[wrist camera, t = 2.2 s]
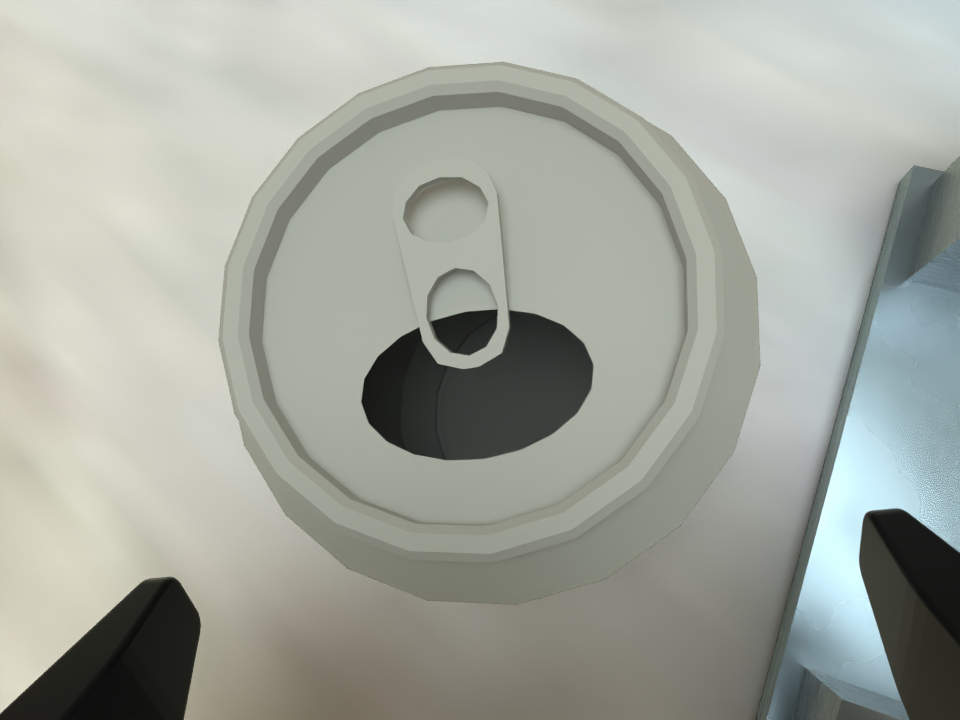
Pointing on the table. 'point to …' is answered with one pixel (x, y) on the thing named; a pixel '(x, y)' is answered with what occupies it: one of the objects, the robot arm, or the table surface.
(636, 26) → the table surface
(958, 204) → the vise
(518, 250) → the can
